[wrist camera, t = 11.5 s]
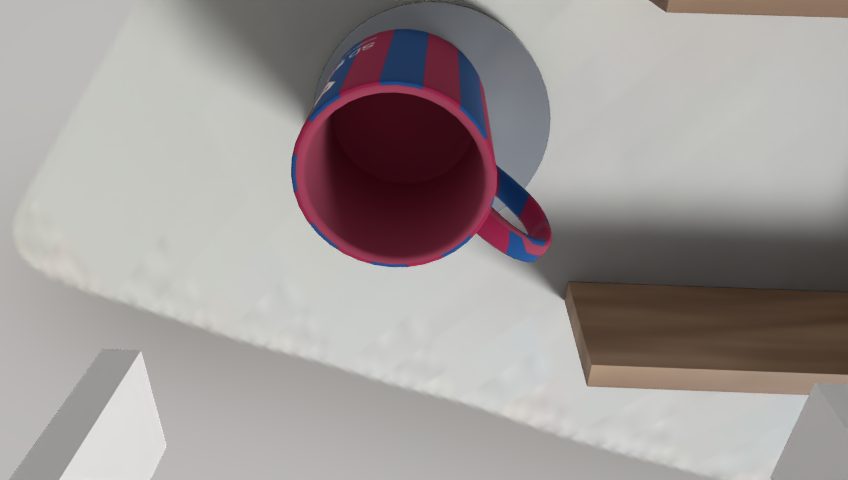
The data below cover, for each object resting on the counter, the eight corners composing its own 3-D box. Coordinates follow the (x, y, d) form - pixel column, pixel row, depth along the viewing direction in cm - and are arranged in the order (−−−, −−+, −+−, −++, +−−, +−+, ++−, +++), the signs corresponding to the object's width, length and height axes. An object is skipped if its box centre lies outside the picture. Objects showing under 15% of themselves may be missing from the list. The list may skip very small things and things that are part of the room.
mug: (391, -10, 24) (373, 33, 18) (575, 149, 27) (611, 229, 21) (294, 119, 27) (251, 192, 21) (471, 250, 30) (477, 345, 24)
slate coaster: (306, -3, 25) (303, 0, 24) (563, 5, 25) (565, 8, 24) (322, 220, 30) (320, 226, 29) (534, 227, 30) (535, 234, 29)
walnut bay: (625, -56, 23) (675, -31, 18) (1110, -42, 23) (1299, -13, 18) (564, 301, 32) (587, 386, 27) (919, 314, 32) (1011, 402, 27)
